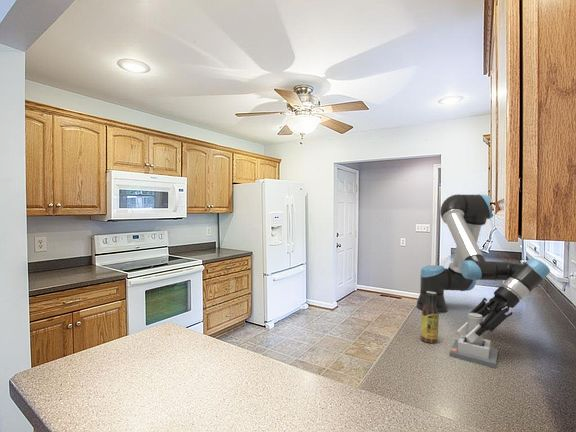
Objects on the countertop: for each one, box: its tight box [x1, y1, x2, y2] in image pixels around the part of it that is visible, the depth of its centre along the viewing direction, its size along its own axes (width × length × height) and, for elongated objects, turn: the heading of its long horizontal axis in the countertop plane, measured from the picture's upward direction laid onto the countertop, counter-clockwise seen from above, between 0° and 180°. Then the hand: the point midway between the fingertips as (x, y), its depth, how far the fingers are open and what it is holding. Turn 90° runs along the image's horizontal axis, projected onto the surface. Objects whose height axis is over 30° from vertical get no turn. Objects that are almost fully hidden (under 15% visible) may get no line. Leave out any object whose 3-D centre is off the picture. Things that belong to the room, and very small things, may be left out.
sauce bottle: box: [420, 291, 440, 344], centre depth 126 cm, size 6×6×20 cm
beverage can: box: [466, 312, 484, 346], centre depth 114 cm, size 5×5×12 cm
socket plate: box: [449, 334, 499, 369], centre depth 114 cm, size 14×14×5 cm
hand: (464, 336), depth 114 cm, fingers closed on beverage can, 5 cm apart
